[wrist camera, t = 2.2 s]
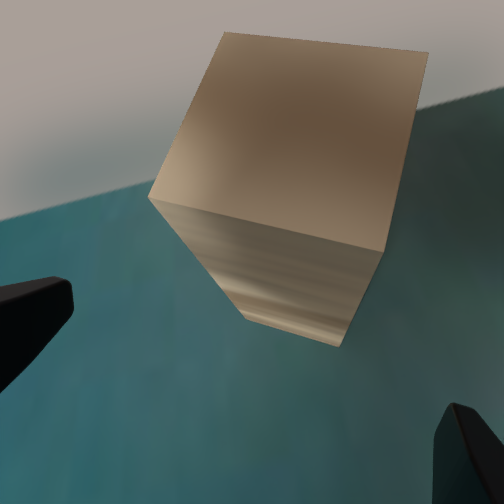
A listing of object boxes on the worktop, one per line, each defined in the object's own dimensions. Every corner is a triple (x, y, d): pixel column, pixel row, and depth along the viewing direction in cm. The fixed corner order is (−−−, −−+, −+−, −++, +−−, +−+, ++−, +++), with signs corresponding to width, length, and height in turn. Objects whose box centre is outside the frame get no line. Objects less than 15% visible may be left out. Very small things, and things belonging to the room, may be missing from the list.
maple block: (339, 347, 19) (383, 252, 7) (246, 319, 20) (147, 197, 8) (361, 257, 20) (428, 52, 8) (273, 236, 22) (224, 32, 10)
